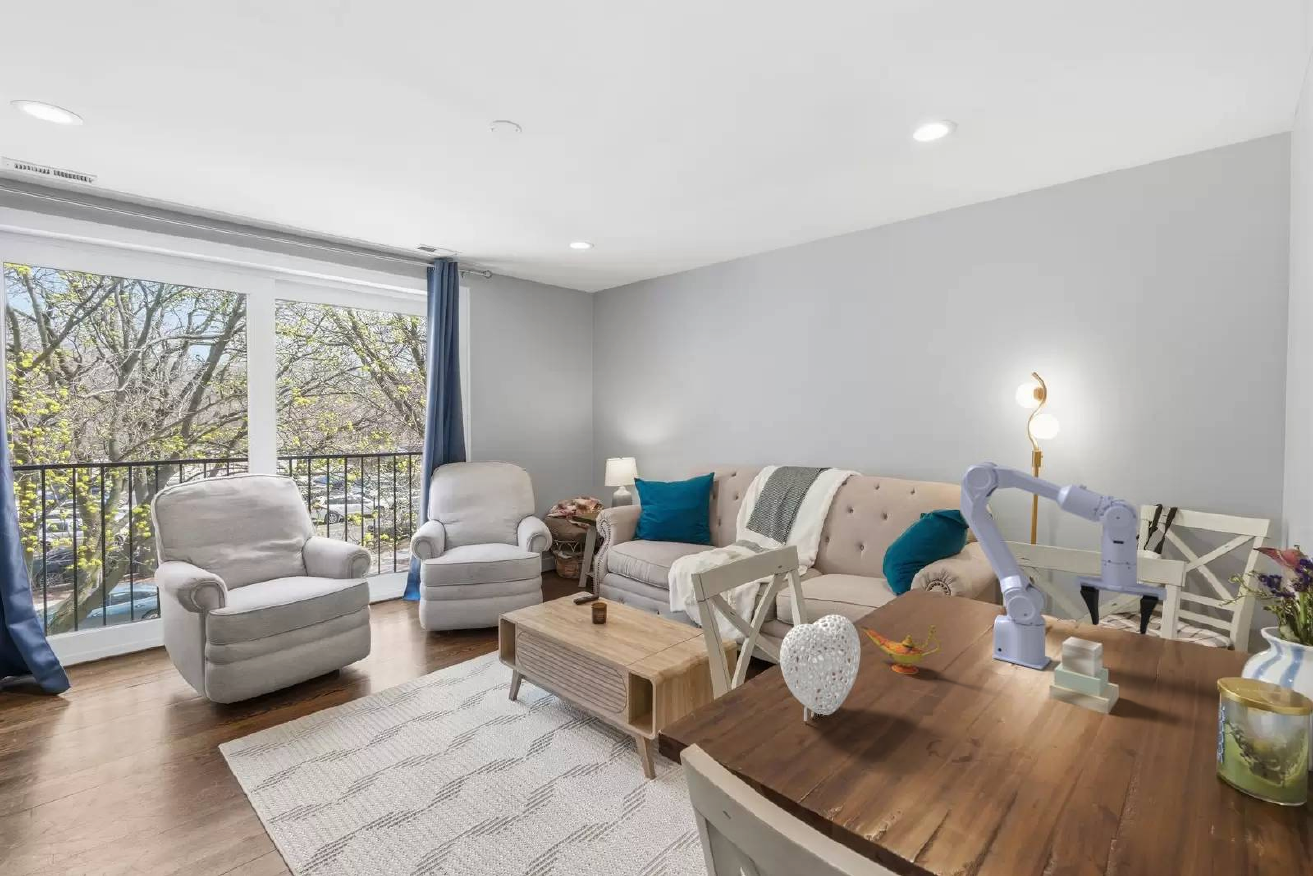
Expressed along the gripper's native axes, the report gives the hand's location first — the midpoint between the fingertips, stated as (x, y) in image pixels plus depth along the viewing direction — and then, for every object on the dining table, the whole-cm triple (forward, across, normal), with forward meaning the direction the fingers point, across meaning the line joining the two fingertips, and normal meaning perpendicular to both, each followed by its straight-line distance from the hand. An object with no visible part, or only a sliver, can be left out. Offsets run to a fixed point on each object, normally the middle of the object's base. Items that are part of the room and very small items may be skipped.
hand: (1118, 628), depth 120 cm
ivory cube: (+5, -3, -15) cm, 16 cm away
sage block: (+8, -3, -15) cm, 17 cm away
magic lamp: (+11, -34, -25) cm, 44 cm away
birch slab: (+11, -3, -14) cm, 18 cm away
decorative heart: (+11, -34, -55) cm, 66 cm away
